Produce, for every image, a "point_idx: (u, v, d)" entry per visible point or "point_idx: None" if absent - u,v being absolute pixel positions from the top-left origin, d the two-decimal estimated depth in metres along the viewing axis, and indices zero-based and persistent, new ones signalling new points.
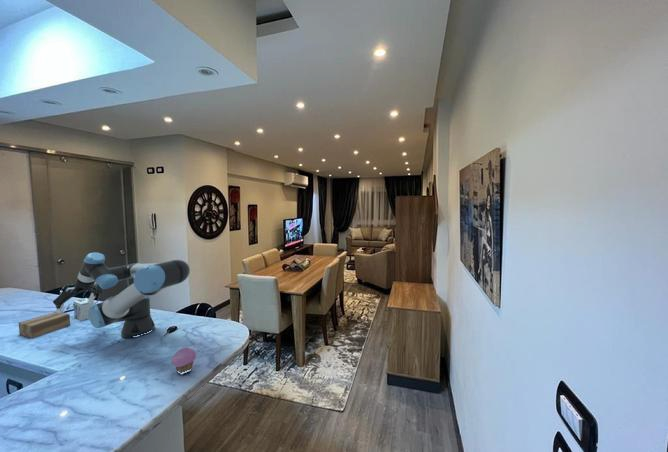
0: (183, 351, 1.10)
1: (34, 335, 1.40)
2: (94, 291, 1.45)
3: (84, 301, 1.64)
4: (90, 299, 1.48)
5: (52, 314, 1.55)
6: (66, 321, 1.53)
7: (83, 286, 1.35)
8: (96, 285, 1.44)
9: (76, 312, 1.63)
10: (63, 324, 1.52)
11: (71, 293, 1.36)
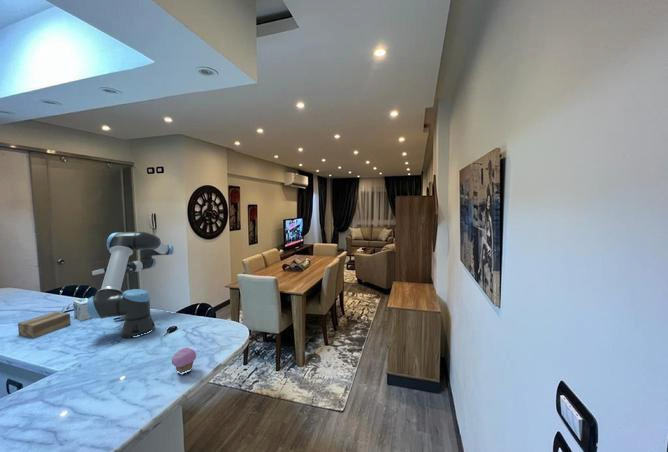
0: (183, 351, 1.10)
1: (36, 335, 1.41)
2: None
3: (84, 301, 1.64)
4: None
5: (50, 314, 1.54)
6: (67, 320, 1.54)
7: None
8: (129, 267, 1.85)
9: (76, 312, 1.63)
10: (64, 323, 1.53)
11: None
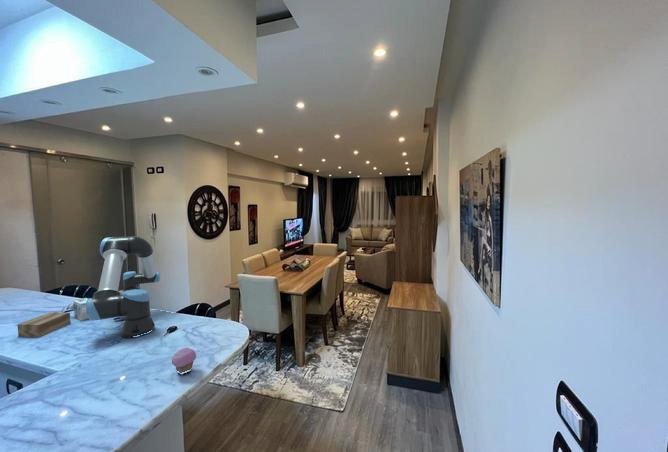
0: (183, 351, 1.10)
1: (41, 334, 1.42)
2: None
3: (84, 301, 1.64)
4: None
5: (47, 314, 1.54)
6: (67, 319, 1.55)
7: None
8: None
9: (76, 312, 1.63)
10: (65, 322, 1.54)
11: None
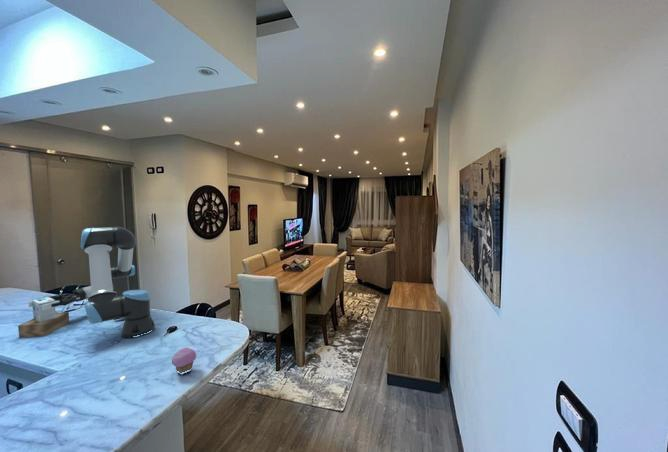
0: (183, 351, 1.10)
1: (47, 333, 1.43)
2: (66, 298, 1.53)
3: (44, 300, 1.47)
4: None
5: None
6: (66, 318, 1.56)
7: None
8: (75, 296, 1.57)
9: (34, 313, 1.46)
10: (65, 322, 1.55)
11: None
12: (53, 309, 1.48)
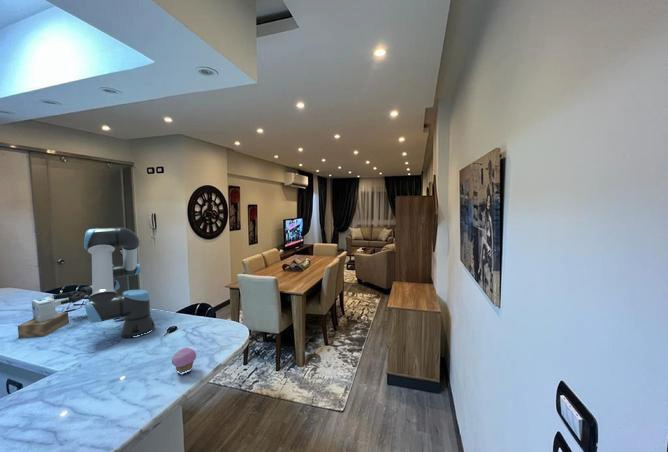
0: (183, 351, 1.10)
1: (47, 333, 1.43)
2: (74, 296, 1.57)
3: (44, 300, 1.47)
4: None
5: None
6: (66, 318, 1.56)
7: None
8: (83, 294, 1.61)
9: (34, 313, 1.46)
10: (64, 322, 1.55)
11: None
12: (53, 309, 1.48)
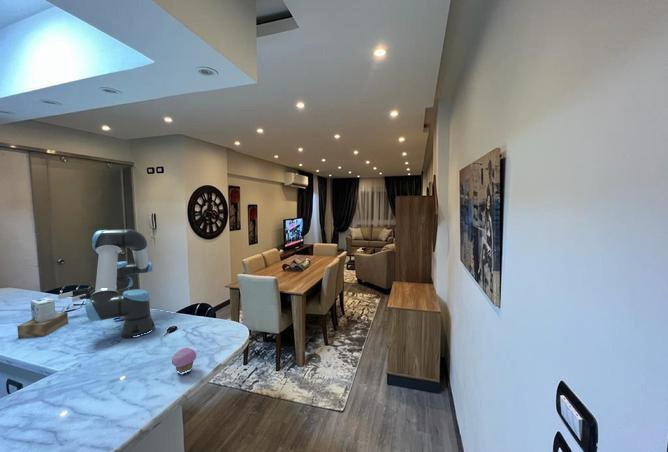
0: (183, 351, 1.10)
1: (47, 333, 1.43)
2: (92, 292, 1.65)
3: (43, 301, 1.47)
4: None
5: None
6: (65, 319, 1.56)
7: None
8: None
9: (34, 313, 1.46)
10: (64, 322, 1.55)
11: None
12: (53, 309, 1.48)
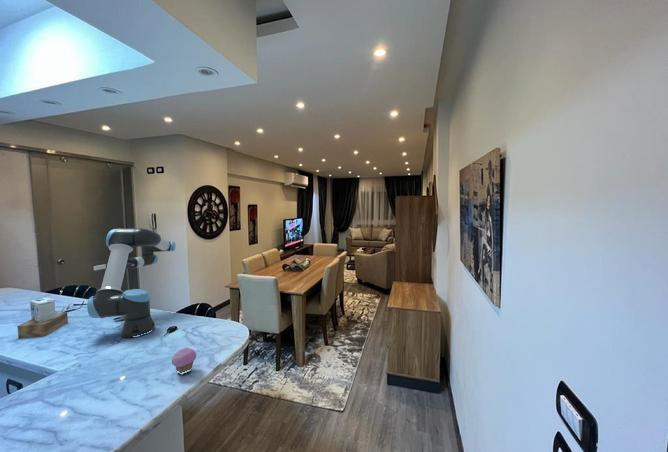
0: (183, 351, 1.10)
1: (47, 333, 1.43)
2: None
3: (43, 300, 1.46)
4: None
5: None
6: (65, 318, 1.56)
7: None
8: (130, 263, 1.83)
9: (33, 313, 1.45)
10: (64, 322, 1.55)
11: None
12: (53, 309, 1.48)
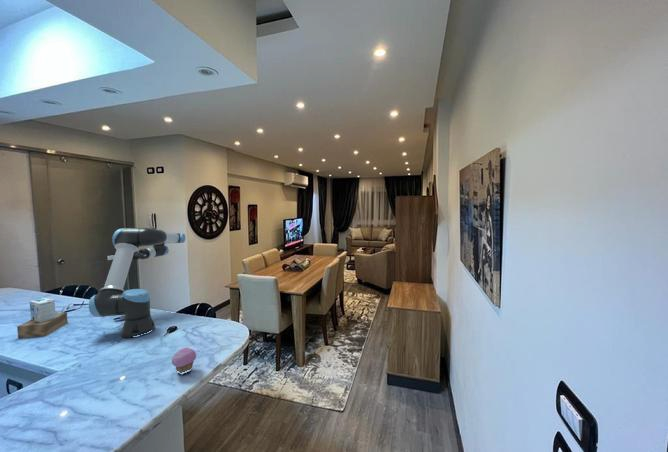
0: (183, 351, 1.10)
1: (47, 333, 1.43)
2: (136, 254, 1.83)
3: (43, 301, 1.46)
4: None
5: None
6: (65, 319, 1.56)
7: None
8: (143, 253, 1.87)
9: (33, 313, 1.45)
10: (64, 322, 1.55)
11: None
12: (53, 309, 1.48)
